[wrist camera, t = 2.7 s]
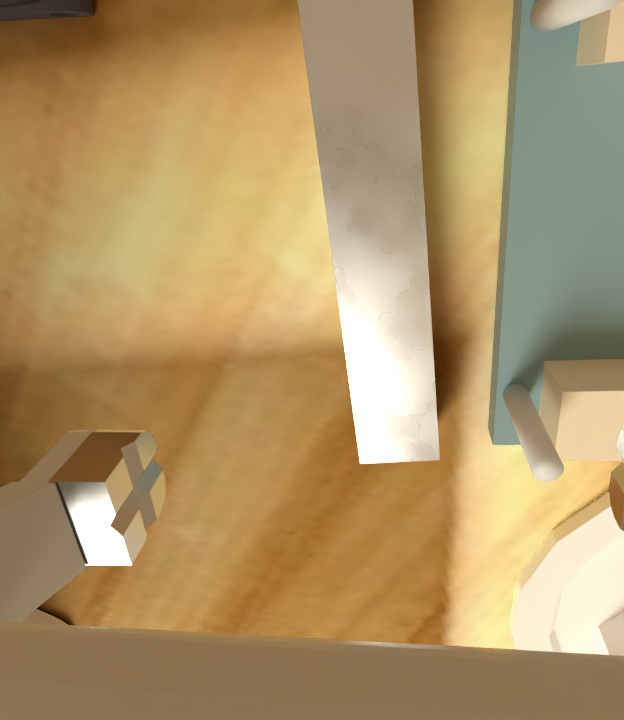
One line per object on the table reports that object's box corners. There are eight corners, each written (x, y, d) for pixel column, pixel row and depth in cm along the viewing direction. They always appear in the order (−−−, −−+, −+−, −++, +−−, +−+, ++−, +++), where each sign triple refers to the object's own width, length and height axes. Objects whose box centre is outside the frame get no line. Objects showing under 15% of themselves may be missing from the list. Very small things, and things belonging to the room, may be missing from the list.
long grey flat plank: (433, 422, 30) (439, 460, 27) (362, 426, 31) (359, 463, 28) (404, -60, 21) (407, -87, 18) (302, -38, 22) (289, -60, 18)
